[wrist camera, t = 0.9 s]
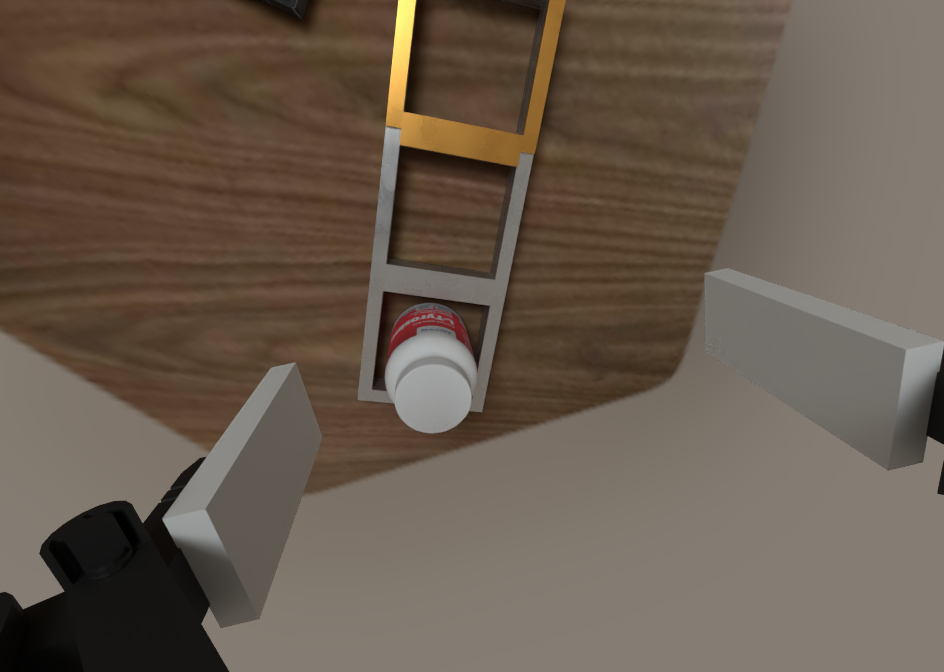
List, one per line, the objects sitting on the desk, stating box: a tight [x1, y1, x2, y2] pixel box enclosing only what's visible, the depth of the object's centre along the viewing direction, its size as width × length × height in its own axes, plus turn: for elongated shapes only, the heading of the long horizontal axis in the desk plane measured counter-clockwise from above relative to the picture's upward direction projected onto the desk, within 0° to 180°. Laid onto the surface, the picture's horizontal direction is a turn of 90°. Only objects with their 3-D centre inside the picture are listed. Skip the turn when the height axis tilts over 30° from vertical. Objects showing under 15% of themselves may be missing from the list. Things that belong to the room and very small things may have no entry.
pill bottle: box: [385, 303, 478, 433], centre depth 34 cm, size 6×6×11 cm
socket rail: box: [358, 0, 566, 412], centre depth 34 cm, size 10×30×3 cm, turn 170°
